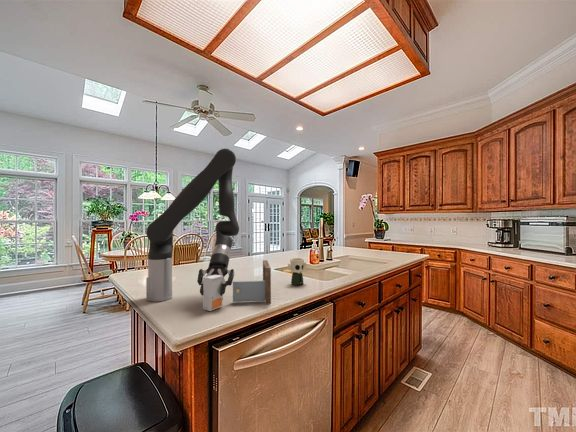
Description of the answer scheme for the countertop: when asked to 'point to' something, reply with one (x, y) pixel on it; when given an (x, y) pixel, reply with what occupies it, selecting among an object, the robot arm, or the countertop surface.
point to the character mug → (297, 270)
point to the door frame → (267, 280)
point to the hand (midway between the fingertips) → (211, 294)
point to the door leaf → (249, 291)
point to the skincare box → (212, 292)
